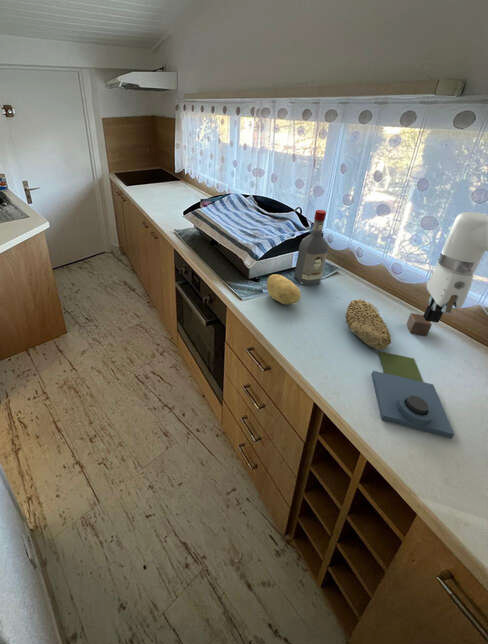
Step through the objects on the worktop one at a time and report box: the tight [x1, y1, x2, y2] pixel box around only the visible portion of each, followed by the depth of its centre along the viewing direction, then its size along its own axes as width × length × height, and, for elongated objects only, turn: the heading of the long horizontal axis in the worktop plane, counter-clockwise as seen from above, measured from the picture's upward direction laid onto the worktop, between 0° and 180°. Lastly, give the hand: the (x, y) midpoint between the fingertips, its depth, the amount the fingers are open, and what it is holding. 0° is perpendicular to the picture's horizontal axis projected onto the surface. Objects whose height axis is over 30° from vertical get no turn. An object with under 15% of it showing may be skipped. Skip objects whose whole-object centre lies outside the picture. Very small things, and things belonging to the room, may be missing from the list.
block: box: [406, 312, 433, 337], centre depth 99 cm, size 5×5×5 cm
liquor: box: [293, 209, 329, 287], centre depth 121 cm, size 9×9×30 cm
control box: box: [371, 370, 456, 439], centre depth 76 cm, size 14×14×4 cm
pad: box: [378, 350, 424, 382], centre depth 86 cm, size 9×9×1 cm
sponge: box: [345, 298, 392, 350], centre depth 98 cm, size 13×8×20 cm
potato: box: [266, 273, 302, 306], centre depth 113 cm, size 10×14×10 cm
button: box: [406, 396, 428, 415], centre depth 72 cm, size 4×4×2 cm
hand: (430, 319), depth 85 cm, fingers closed
